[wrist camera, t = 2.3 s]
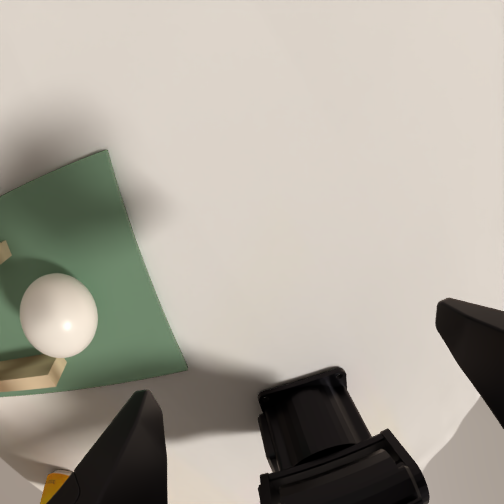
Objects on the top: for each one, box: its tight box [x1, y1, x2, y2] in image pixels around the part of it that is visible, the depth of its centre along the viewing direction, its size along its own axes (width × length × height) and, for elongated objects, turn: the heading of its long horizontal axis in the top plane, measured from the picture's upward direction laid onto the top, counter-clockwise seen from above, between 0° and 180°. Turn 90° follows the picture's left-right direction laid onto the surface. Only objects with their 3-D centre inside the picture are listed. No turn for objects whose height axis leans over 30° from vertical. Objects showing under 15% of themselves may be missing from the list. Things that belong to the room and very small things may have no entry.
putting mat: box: [0, 150, 188, 397], centre depth 17 cm, size 18×14×1 cm
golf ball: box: [20, 273, 98, 358], centre depth 15 cm, size 4×4×4 cm
